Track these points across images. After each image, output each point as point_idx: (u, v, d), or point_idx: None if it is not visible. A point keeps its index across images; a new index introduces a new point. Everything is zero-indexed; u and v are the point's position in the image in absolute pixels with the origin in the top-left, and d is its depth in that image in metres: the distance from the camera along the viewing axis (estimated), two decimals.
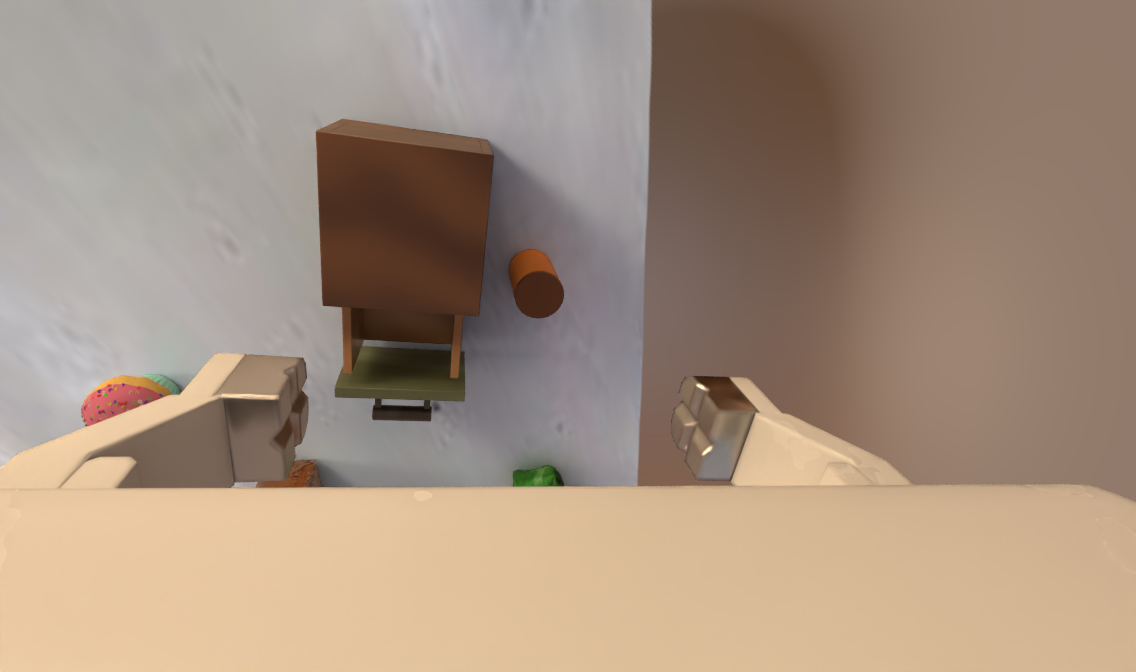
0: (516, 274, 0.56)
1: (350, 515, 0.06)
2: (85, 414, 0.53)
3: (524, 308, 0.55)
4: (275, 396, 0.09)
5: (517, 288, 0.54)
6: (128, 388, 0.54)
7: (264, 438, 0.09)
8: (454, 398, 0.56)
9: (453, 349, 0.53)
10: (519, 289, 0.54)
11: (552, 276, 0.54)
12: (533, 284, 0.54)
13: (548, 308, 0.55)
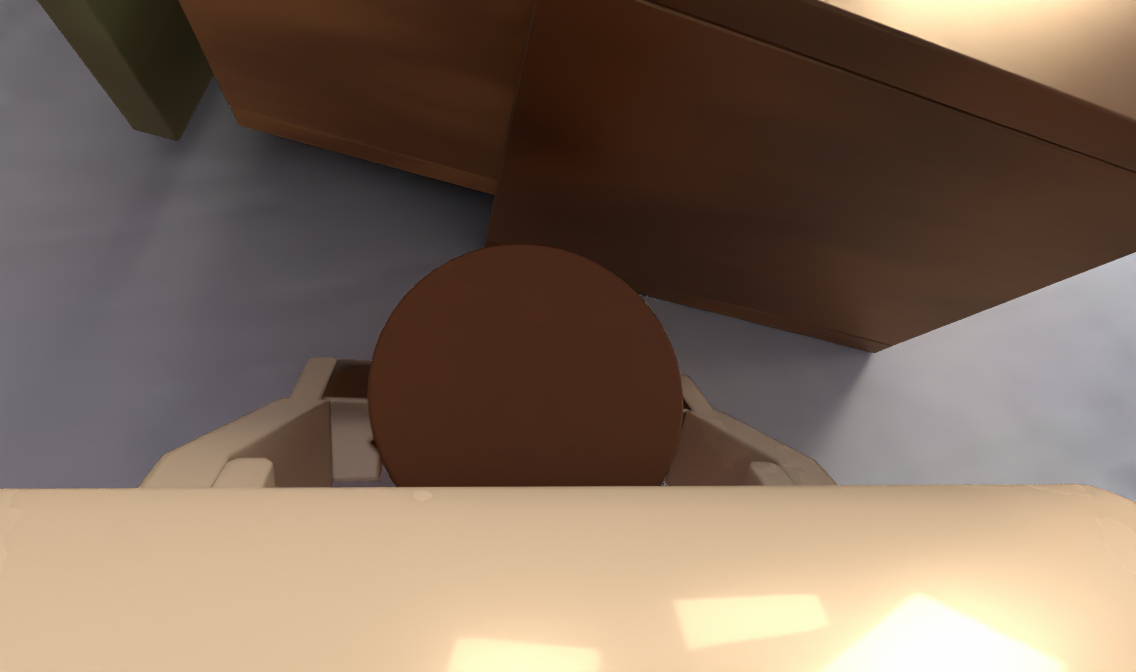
0: None
1: (350, 515, 0.06)
2: None
3: (462, 283, 0.09)
4: None
5: (593, 264, 0.09)
6: None
7: (363, 439, 0.10)
8: None
9: None
10: (590, 273, 0.09)
11: (659, 476, 0.08)
12: (614, 354, 0.09)
13: (432, 440, 0.08)
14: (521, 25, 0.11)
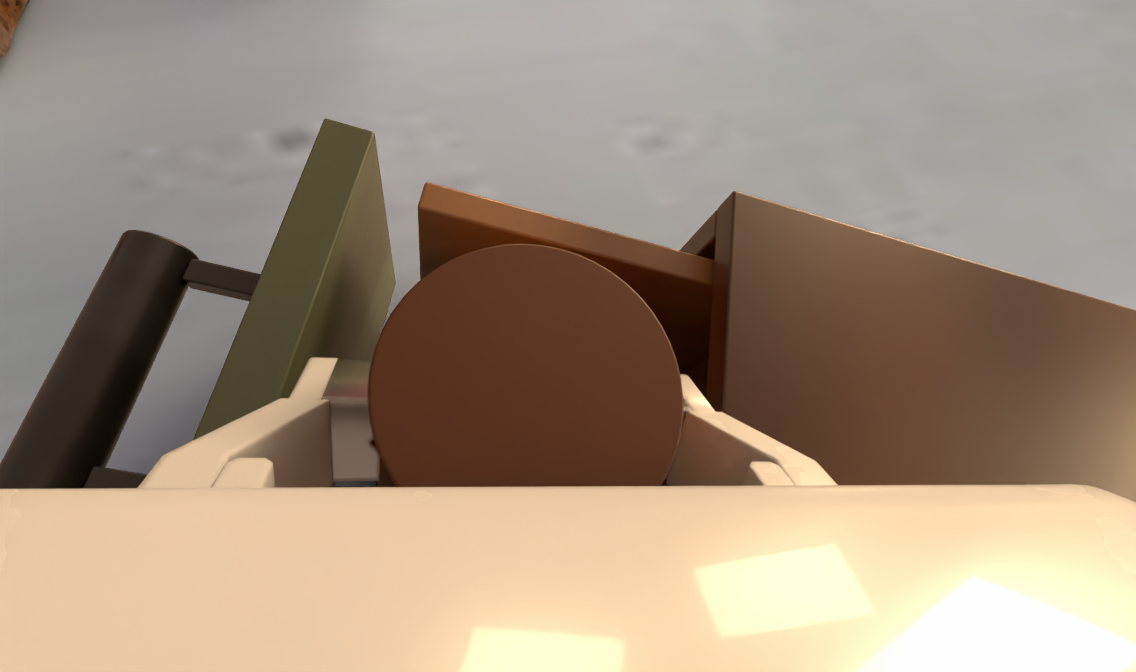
0: None
1: (350, 516, 0.06)
2: None
3: (462, 283, 0.09)
4: None
5: (592, 264, 0.09)
6: None
7: (363, 439, 0.10)
8: None
9: None
10: (590, 273, 0.09)
11: (659, 475, 0.08)
12: (614, 354, 0.09)
13: (432, 441, 0.08)
14: None
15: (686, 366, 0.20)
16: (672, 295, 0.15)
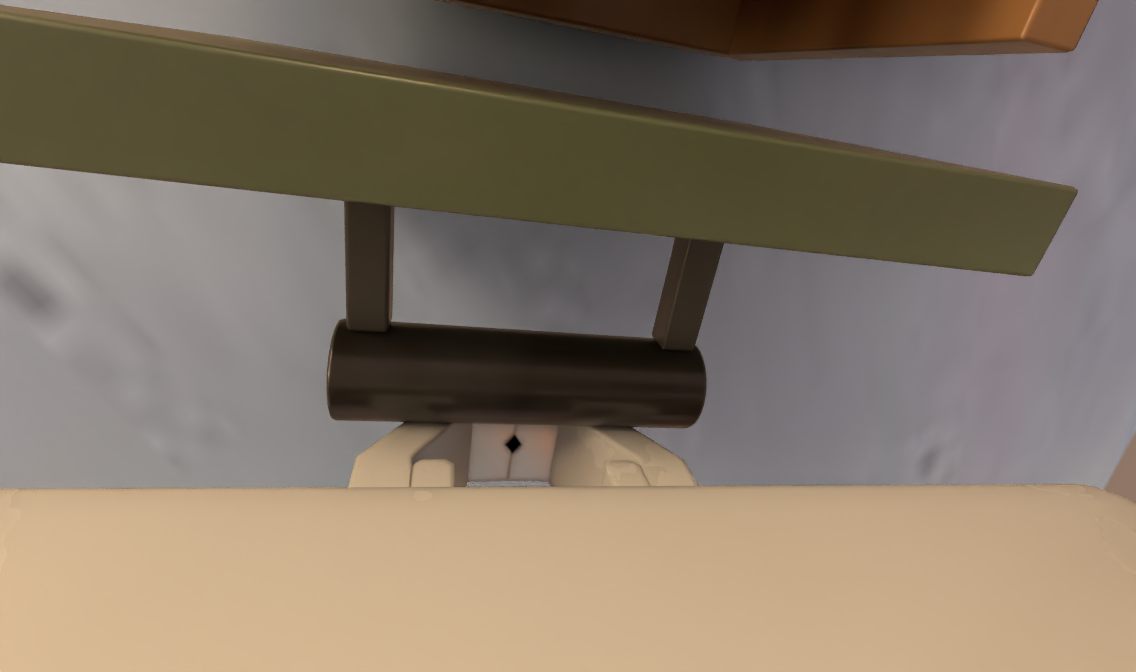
0: None
1: (350, 515, 0.06)
2: None
3: None
4: None
5: None
6: None
7: (499, 441, 0.10)
8: (981, 249, 0.07)
9: None
10: None
11: None
12: None
13: None
14: None
15: None
16: None
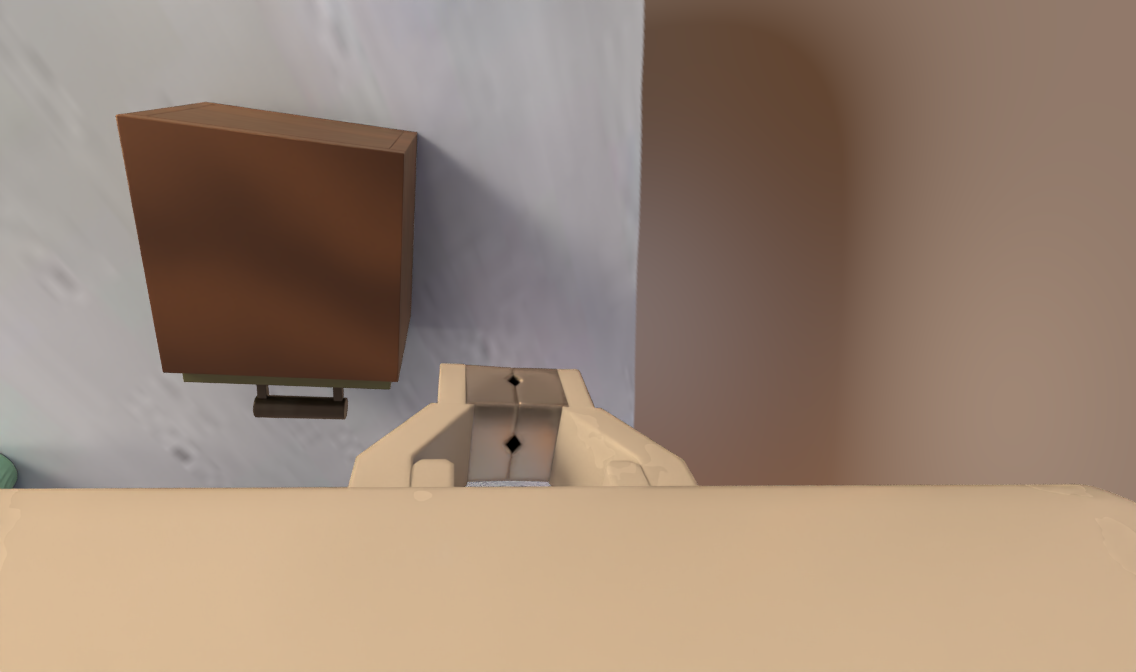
0: None
1: (350, 515, 0.06)
2: None
3: None
4: (516, 403, 0.10)
5: None
6: None
7: (499, 441, 0.10)
8: (373, 385, 0.37)
9: None
10: None
11: None
12: None
13: None
14: None
15: None
16: None
